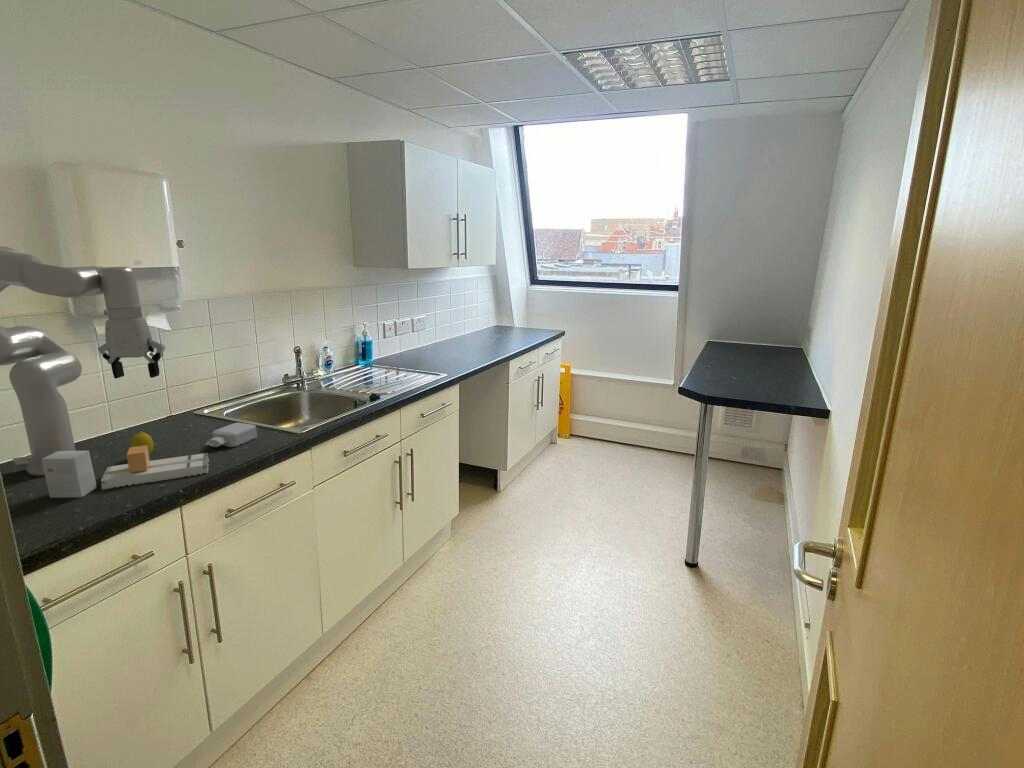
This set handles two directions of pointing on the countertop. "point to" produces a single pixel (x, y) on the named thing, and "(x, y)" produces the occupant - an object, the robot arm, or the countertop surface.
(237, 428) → the grey bottle
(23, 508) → the countertop surface
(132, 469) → the fader knob
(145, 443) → the lemon
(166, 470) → the fader panel
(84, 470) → the small box
